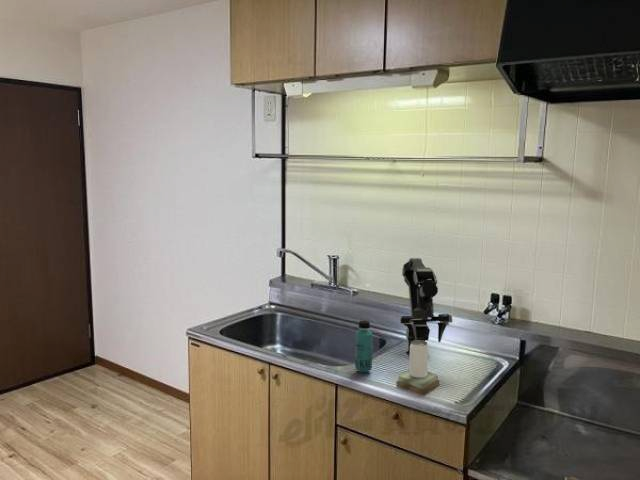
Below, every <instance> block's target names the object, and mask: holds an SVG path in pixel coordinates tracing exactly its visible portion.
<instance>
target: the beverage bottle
mask: <svg viewBox="0 0 640 480" xmlns="http://www.w3.org/2000/svg"><path fill="white" fill-rule="evenodd" d="M370 323H371V322H370V321H368V320H361V321H359V322H358V330H357V331H356V332H355V353H354V354H355V357H354V365H355V366H354V368H355V370H356V371H357V372H362V373H363V372H365V373H366V372H370V371H371V370H372V368H373V366H372V365H373V332H372V330H370V329H369V328H371V324H370Z"/></svg>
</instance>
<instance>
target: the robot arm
mask: <svg viewBox="0 0 640 480" xmlns="http://www.w3.org/2000/svg"><path fill="white" fill-rule="evenodd" d="M401 273H402V277H403V281H404V283H405V284H406V285H407V286H408V295H409V296H408V297H409V305H410V315H403V316H401V317H400V324H401V325H403V326H405V327H407V328H406V331H405V337H406V339H407V341H408V342H407V344H408V345H407V346H408V347H407V349H408V350H407V351H406V352H405V353H406V354H408V355H410V345H411V342H412V341H414V340H422V341H429V337H430V331H431V329H430V327H429V326H428V323H427V322H437V326H438V327H437V329H438V331H437V332H438V333H437V339H438V340H437V341H438V343H441V341H442V338H443V335H444V332H445V330H446V327H447V326H449V325H450V324H451V323H453V316H452V315H451V314H449V313H439V314H438V315H436V316H435V314H434V301H433V300H434V299H433V298H434V297H436V296H437V294H438V292H439V288H438V286H437V285H438V279H437V275H436V274H435V272H434V271H433V269H432V268H431V267H426V265H425V264H424V263H423V260H422V258H420V257H411V258H409V259H408V261H407V262H405V263H404V264H403V265H402V270H401Z"/></svg>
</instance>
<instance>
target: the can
mask: <svg viewBox="0 0 640 480" xmlns="http://www.w3.org/2000/svg"><path fill="white" fill-rule="evenodd" d="M408 364H409V365H408V370H409V374H410V376H412V377H414V378H425V377H426V376H427V375H428V372H429V346H428V342H427V340H425V341H422V340H414V341H412V342H411V345H410V354H409V363H408Z"/></svg>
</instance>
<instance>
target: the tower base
mask: <svg viewBox="0 0 640 480" xmlns="http://www.w3.org/2000/svg"><path fill="white" fill-rule="evenodd" d="M438 375H439V374H437V373H433V372H430V371H428V375H427V376H426V377H425V378H414V377H412V376H410V374H409V369H408V370H406V371H405V372H403V373H402V374H400V375H398V380H397V381H396V388H399V389H402V388H403V390H405V389H406V390H405V391H408V390H409V392H412V393H414V394H415V393H416V394H418V395H422V396H425V395H427V394H428V393H430V392H432V391H433V390H434V389H436V388H437V387H439V386H440V379H439V377H438Z"/></svg>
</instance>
